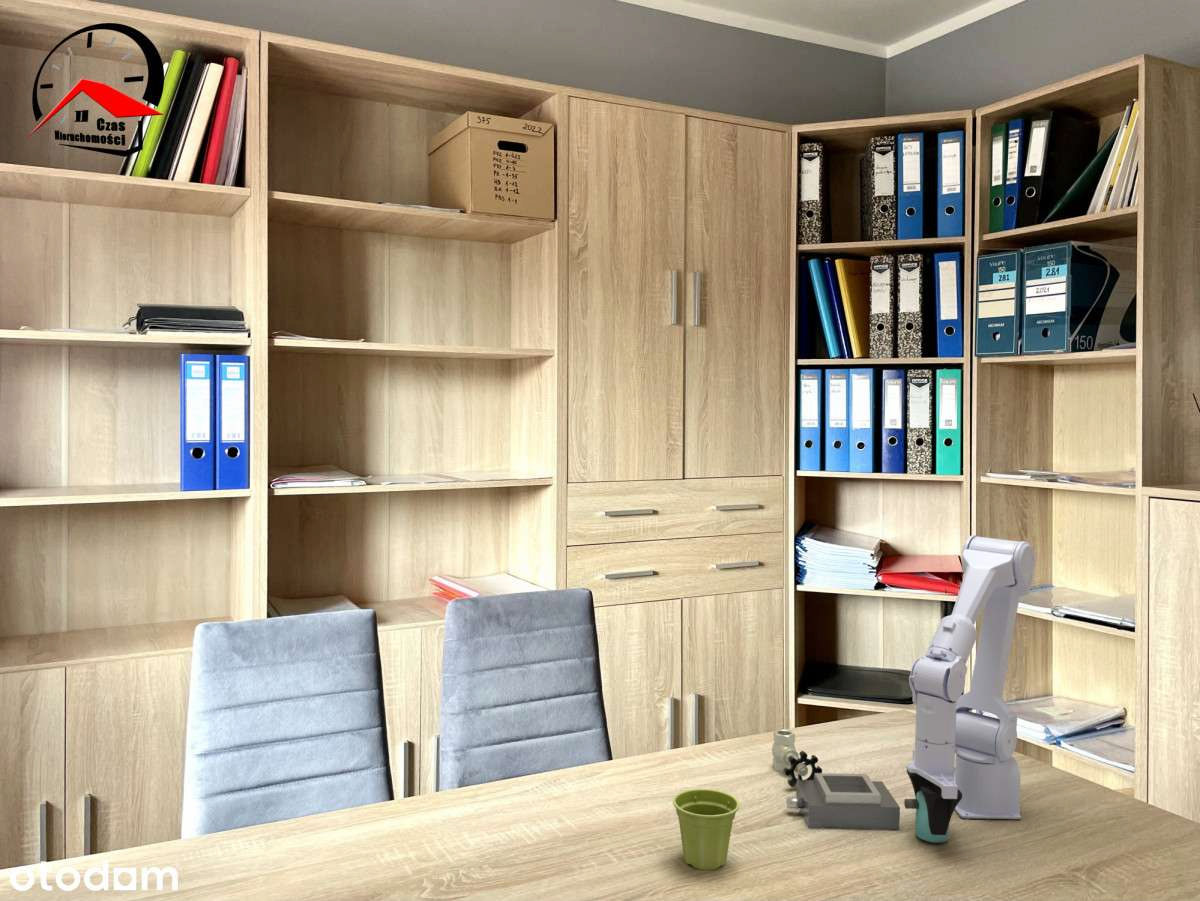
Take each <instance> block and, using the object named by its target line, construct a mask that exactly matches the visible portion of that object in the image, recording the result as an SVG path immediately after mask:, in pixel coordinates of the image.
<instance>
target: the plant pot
mask: <svg viewBox="0 0 1200 901" xmlns="http://www.w3.org/2000/svg"><path fill="white" fill-rule="evenodd" d="M672 805H673V806H674V808H675V811H676V815H677V817H678V823H679V830H680V832H679V833H680V837H681V839H680V840H681V845H682V847H681V848H682V855H683V856H682V857H683V861H684V862H685V863H686V864H687V865H688V864H689V865H690V866H692V867H693V868H695V869H697V870H703V871H704V870H707V871H708V870H709V871H711V870H712V871H713V870H716V869H718V868H720V866H723V867H724V866H725V865H726V863H727V858H728V852H729V846H730V841H731V840H730V839H731V835H732V828H733V822H734V820H735V817H736V813H737V811H739V809H740V802H739V800H738V798H736V797H735V796H734V795H732V794H729V793H727V792H725V791H720V790H717V789H708V788H694V789H687V790H684V791H680V792H678V793H677V794H675V796H674V797H673V799H672Z"/></svg>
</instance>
